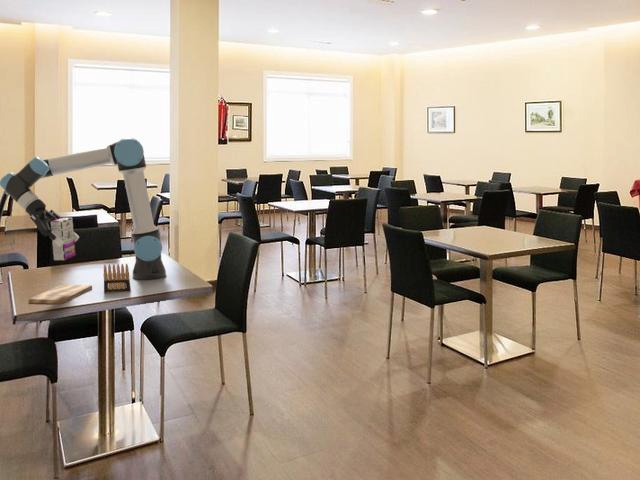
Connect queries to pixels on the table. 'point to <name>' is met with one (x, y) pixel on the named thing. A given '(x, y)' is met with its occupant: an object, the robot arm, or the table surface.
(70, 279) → the table surface
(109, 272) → the ammunition clip
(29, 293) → the table surface
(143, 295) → the table surface
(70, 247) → the candy bar box
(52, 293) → the oak board
